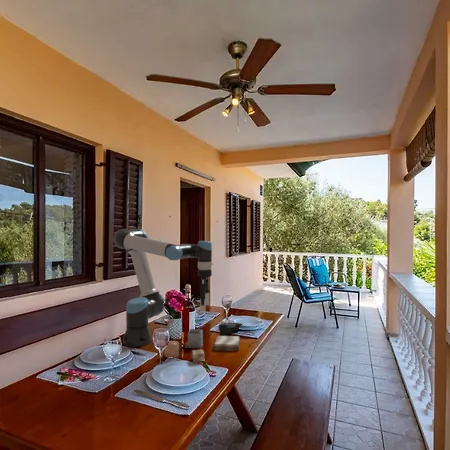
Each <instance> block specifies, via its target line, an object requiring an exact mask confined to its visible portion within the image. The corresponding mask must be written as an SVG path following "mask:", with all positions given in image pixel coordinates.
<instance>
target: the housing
mask: <svg viewBox="0 0 450 450" xmlns="http://www.w3.org/2000/svg"><path fill="white" fill-rule="evenodd" d="M203 345H204V329H200V328H191V329H190V330H189V331H188V333H187V348H193V349H194V348H195V349H199V348H200V349H202V346H203Z"/></svg>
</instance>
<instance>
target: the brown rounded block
mask: <svg viewBox="0 0 450 450" xmlns="http://www.w3.org/2000/svg"><path fill="white" fill-rule="evenodd" d="M168 341H169V343H168V345H167V347H166V348H165V347H164V357H165V358H166V357H167V358H166V359H170V358H169V357H173V358H172V359H175V358H179V356H180V342H179V341H177V340H168Z"/></svg>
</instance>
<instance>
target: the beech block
mask: <svg viewBox="0 0 450 450" xmlns="http://www.w3.org/2000/svg"><path fill="white" fill-rule="evenodd" d="M191 359H192V361H193V363H194V362H197V363H201V362H200V361H201V360H204V361H205V351H204V350H203V348H201V349H194V350H191Z"/></svg>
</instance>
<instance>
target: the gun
mask: <svg viewBox="0 0 450 450" xmlns="http://www.w3.org/2000/svg"><path fill="white" fill-rule="evenodd" d="M241 325H242V326H243V323H240V322H232V323H223V324H222V323H221V324H219V325H218V330H219V335H218V336H228V335H229V334H230V335H231V334H232V333H233V332H237V330H238V329H239V327H240V326H241ZM239 330H240V329H239ZM239 330H238V331H239Z"/></svg>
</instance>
